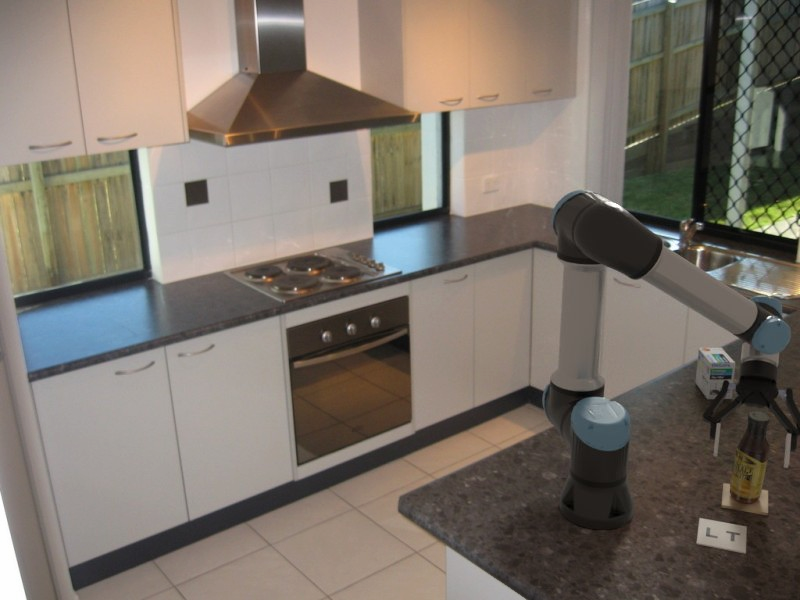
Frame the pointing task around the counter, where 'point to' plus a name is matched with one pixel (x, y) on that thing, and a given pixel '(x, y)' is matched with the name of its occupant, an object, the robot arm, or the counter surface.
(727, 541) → the tile
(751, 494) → the sauce bottle
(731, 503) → the coaster
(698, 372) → the light bulb box
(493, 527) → the counter surface
